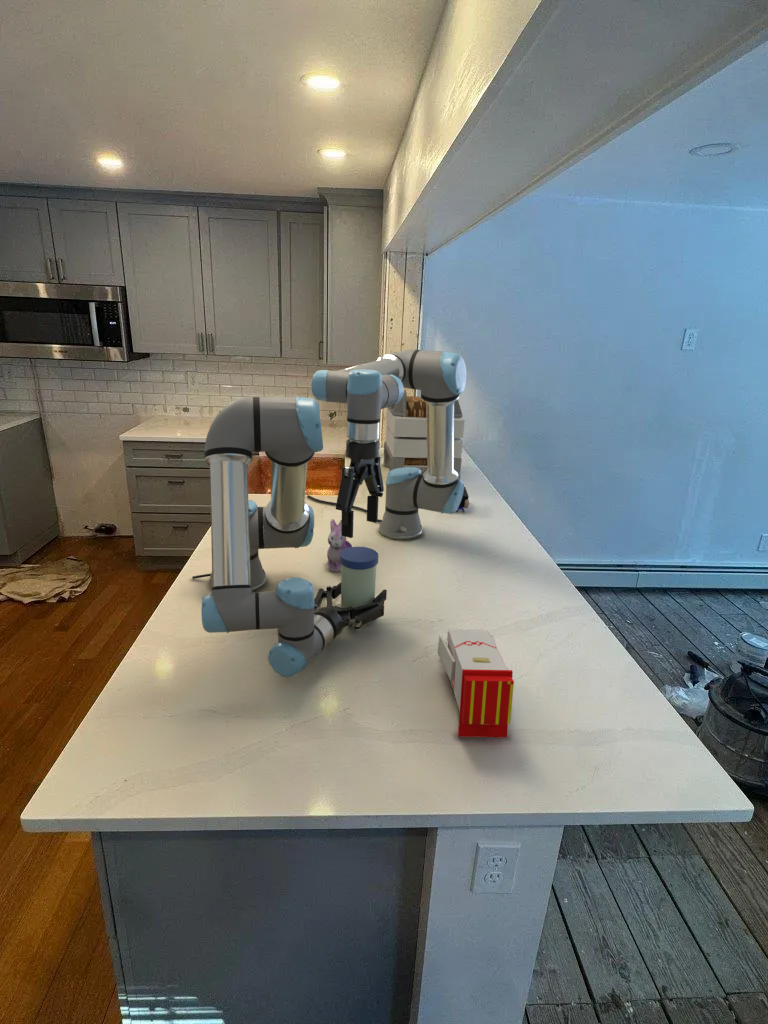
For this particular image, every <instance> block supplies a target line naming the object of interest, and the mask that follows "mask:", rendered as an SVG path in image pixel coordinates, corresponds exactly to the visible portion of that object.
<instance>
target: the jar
mask: <svg viewBox="0 0 768 1024" xmlns="http://www.w3.org/2000/svg"><path fill="white" fill-rule="evenodd" d="M340 572H341V577H340V580H341V581H340V582H341V594H340V607H341V608H348V607H353V608H354V607H358V606H362V605H366V604H370V603H373V599H374V598H376V580H377V565H376V566H374V567H372V568H369V569H362V570H358V569H350V568H347V567H345V566H343V565H342V570H341V571H340ZM349 615H350V612H349ZM371 623H373V621H371V622H369V623H367V624H365V625H364V626H367V625H369V624H371Z"/></svg>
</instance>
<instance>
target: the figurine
mask: <svg viewBox="0 0 768 1024" xmlns="http://www.w3.org/2000/svg"><path fill="white" fill-rule="evenodd" d="M341 521H342V519H340V521H339V522H338V524H337V523H336V520H335V519H333V518H332V519H330V523H329V524H330V525H329V526H330V532H329V534H328V536H327V543H328V545H329V547H328V548H327V552H326V553H327V555H326V556H327V562H326V565H327V570H328V571H332V572H341V571H342V564H341V563H340V552H341V551H342V550H344V549H346V548H349V547H353V545H352V544H351V542H349V541H348V540H347V537H345V536H341V531H342V522H341Z"/></svg>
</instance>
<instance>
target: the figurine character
mask: <svg viewBox="0 0 768 1024" xmlns="http://www.w3.org/2000/svg"><path fill="white" fill-rule="evenodd" d="M469 498H470V496H469V494H468V491H467V488H466V486H464V492H463V496H462V499H461V502H460V505H459V507H458V509H457V510H456V512H455V513H458V510H461V511H462V513H465V509H469V506H470V500H469Z"/></svg>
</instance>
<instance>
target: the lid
mask: <svg viewBox="0 0 768 1024" xmlns="http://www.w3.org/2000/svg"><path fill="white" fill-rule="evenodd" d="M340 563H341V564H342V565H343V566H345V567H347V568H350V569H358V570H362V569H369V568H372V567H374V566H376V567H377V565H378V564H379V552H378V551H377V550H376V549H373V548H371V547H367V546H352V547H349V548H346V549H344V550H342V551H341V552H340Z"/></svg>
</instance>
